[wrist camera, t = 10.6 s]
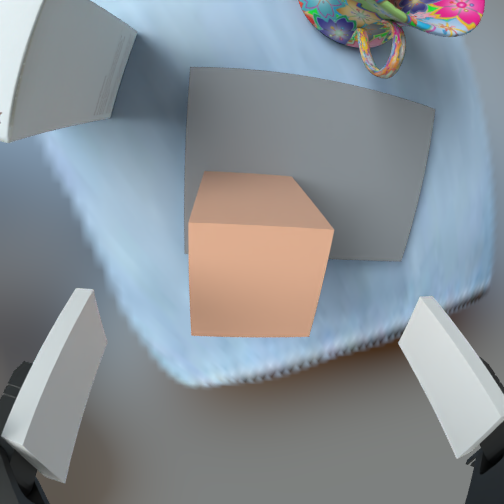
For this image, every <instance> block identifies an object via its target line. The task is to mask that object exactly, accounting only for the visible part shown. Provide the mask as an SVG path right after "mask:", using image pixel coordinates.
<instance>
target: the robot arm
mask: <svg viewBox="0 0 504 504" xmlns="http://www.w3.org/2000/svg"><path fill="white" fill-rule="evenodd" d="M398 344H399V346H400V347H401V349H402V351H403V352H404V354H405V356H406V358H407V360H408V361H409V363H410V365H411V367H412V369H413V371H414V373H415V374H416V376H417V378H418V380H419V382H420V384H421V386H422V388H423V390H424V392H425V393H426V395H427V397H428V399H429V401H430V403H431V405H432V407H433V409H434V411H435V413H436V415H437V417H438V419H439V421H440V423H441V425H442V428H443V430H444V432H445V434H446V436H447V438H448V440H449V442H450V445H451V447H452V449H453V451H454V454H455V456H456V458H459V457H461V456H464V455H466V454H468V453H470V452H471V451H472V450H473V449H474V448H476V447H477V446H478V445H479V444H480V446H481V448H480V449H479V450H478V451H477V452H476V453H475V454H473V455H472V456H471V457H470V458H469V459H468V460H467V462H466V464H467V465H468V464H469V463H470V462H472V461H473V460H474V459H475V458H476V460H475V461H474V462H473V463H472V464H471V466H473V467H474V470H473V475H472V479H471V483H470V487H469V491H468V495H467V498H466V502H465V504H504V387H503V385H502V384H501V383H500V382H499V379H498V377H497V376H495V373H494V372H493V370H492V369H491V367H490V366H489V364H487V363H486V362H485V361H484V360H483V359H482V358H481V357H478V355H477V354H476V352H475V351H474V350H473V348H472V347H471V345H470V344H469V343H468V341H467V340H466V339H465V337H464V336H463V334H462V333H461V332H460V331H459V329H458V328H457V327H456V325H455V324H454V323H453V321H452V320H451V319H450V317H449V316H448V315H447V314H446V312H445V311H444V310H443V309H442V307H441V306H440V305H439V304H438V302H437V301H436V300H435V299H434V297H433V296H424V297H419V300H418V302H417V304H416V307H415V309H414V311H413V313H412V316H411V318H410V320H409V322H408V324H407V326H406V328H405V331H404V333H403V335H402V337H401V339H400V341H399V343H398ZM106 345H107V340H106V336H105V333H104V329H103V326H102V322H101V318H100V314H99V310H98V307H97V303H96V299H95V294H94V290H93V289H81V288H76V289H75V291H74V292H73V294H72V295H71V297H70V299H69V301H68V302H67V304H66V305H65V307H64V309H63V310H62V312H61V314H60V315H59V317H58V319H57V321H56V322H55V324H54V326H53V327H52V329H51V331H50V333H49V334H48V336H47V338H46V340H45V342H44V344H43V345H42V347H41V349H40V351H39V353H38V355H37V357H36V359H35V361H34V363H29V362H25V361H24V362H23V363H22V364H21V365H20V366H19V367H18V368H17V369H16V370H15V371H14V372H13V374H12V376H11V378H10V380H9V382H8V386H6V389H5V390H4V392H3V393H4V395H2V397H1V399H0V504H50V503H49V501H48V500H47V497H46V495H45V493H44V491H43V489H42V487H41V485H40V483H39V481H38V479H37V478H36V472H37V470H38V471H39V472H40V473H41V474H43V475H44V476H45V477H48V478H50V479H53V480H57V481H59V482H62V483H65V482H66V477H67V473H68V468H69V464H70V460H71V456H72V452H73V448H74V444H75V440H76V437H77V433H78V429H79V426H80V423H81V419H82V416H83V412H84V409H85V406H86V403H87V400H88V396H89V393H90V390H91V387H92V384H93V381H94V378H95V375H96V372H97V369H98V367H99V364H100V361H101V358H102V355H103V353H104V350H105V347H106Z"/></svg>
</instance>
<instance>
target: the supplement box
mask: <svg viewBox="0 0 504 504" xmlns="http://www.w3.org/2000/svg"><path fill="white" fill-rule="evenodd" d="M136 35H137V31H136V30H135V29H133V28H132V27H130V26H129V25H128V24H126V23H125V22H123V21H122V20H120V19H119V18H117V17H116V16H114V15H113V14H111V13H109V12H108V11H106V10H105V9H103V8H102V7H100V6H98V5H97V4H95V3H94V2H92V1H90V0H0V141H2V142H7V143H10V142H13V141H16V140H19V139H23V138H27V137H30V136H34V135H37V134H41V133H44V132H48V131H52V130H56V129H60V128H65V127H69V126H74V125H78V124H83V123H88V122H93V121H99V120H104V119H110V117H111V113H112V110H113V106H114V103H115V99H116V95H117V92H118V89H119V86H120V82H121V79H122V76H123V73H124V70H125V67H126V64H127V61H128V58H129V55H130V52H131V49H132V46H133V44H134V41H135V38H136Z"/></svg>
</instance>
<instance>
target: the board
mask: <svg viewBox="0 0 504 504" xmlns="http://www.w3.org/2000/svg"><path fill="white" fill-rule="evenodd" d="M434 115H435V109H434V108H431V107H428V106H425V105H422V104H419V103H416V102H413V101H410V100H407V99H403V98H400V97H397V96H393V95H390V94H386V93H382V92H379V91H375V90H371V89H367V88H363V87H359V86H354V85H350V84H345V83H341V82H336V81H331V80H325V79H320V78H314V77H308V76H302V75H295V74H288V73H280V72H271V71H262V70H250V69H237V68H217V67H190V77H189V91H188V106H187V124H186V147H185V187H184V241H185V254H189V244H188V222H189V219H190V216H191V212H192V209H193V206H194V202H195V199H196V196H197V193H198V190H199V187H200V183H201V180H202V177H203V174H204V171H215V172H236V173H253V174H267V175H280V176H292V177H293V179H294V180H295V181H296V182H297V183H298V185H299V186H300V187H301V188H302V190H303V191H304V192H305V193H306V194H307V196H308V197H309V198H310V199H311V201H312V202H313V203H314V204H315V206H316V207H317V208H318V209H319V211H320V212H321V213H322V215H323V216H324V217H325V218H326V220H327V221H328V222H329V224H330V225H331V226H332V227H333V229H334V234H333V238H332V243H331V248H330V253H329V257H328V259H342V260H372V261H401V260H402V257H403V254H404V251H405V247H406V244H407V241H408V237H409V234H410V230H411V227H412V223H413V219H414V215H415V212H416V208H417V204H418V200H419V196H420V191H421V187H422V182H423V178H424V173H425V168H426V163H427V158H428V153H429V147H430V141H431V135H432V129H433V122H434Z"/></svg>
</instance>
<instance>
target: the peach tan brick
mask: <svg viewBox="0 0 504 504" xmlns="http://www.w3.org/2000/svg"><path fill="white" fill-rule="evenodd" d="M333 234H334V229H333V227H332V226H331V225H330V224H329V222H328V221H327V220H326V218H325V217H324V216H323V215H322V213H321V212H320V211H319V209H318V208H317V207H316V206H315V204H314V203H313V202H312V201H311V199H310V198H309V197H308V196H307V194H306V193H305V192H304V191H303V190H302V188H301V187H300V186H299V185H298V183H297V182H296V181H295V180H294V179H293V177H292V176H280V175H267V174H253V173H236V172H215V171H204V174H203V177H202V180H201V183H200V187H199V190H198V193H197V196H196V199H195V202H194V206H193V209H192V212H191V216H190V219H189V222H188V244H189V291H190V317H191V335H192V336H217V337H309V335H310V331H311V327H312V324H313V320H314V316H315V312H316V308H317V304H318V300H319V296H320V292H321V288H322V284H323V279H324V275H325V271H326V266H327V262H328V257H329V253H330V248H331V243H332V238H333Z"/></svg>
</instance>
